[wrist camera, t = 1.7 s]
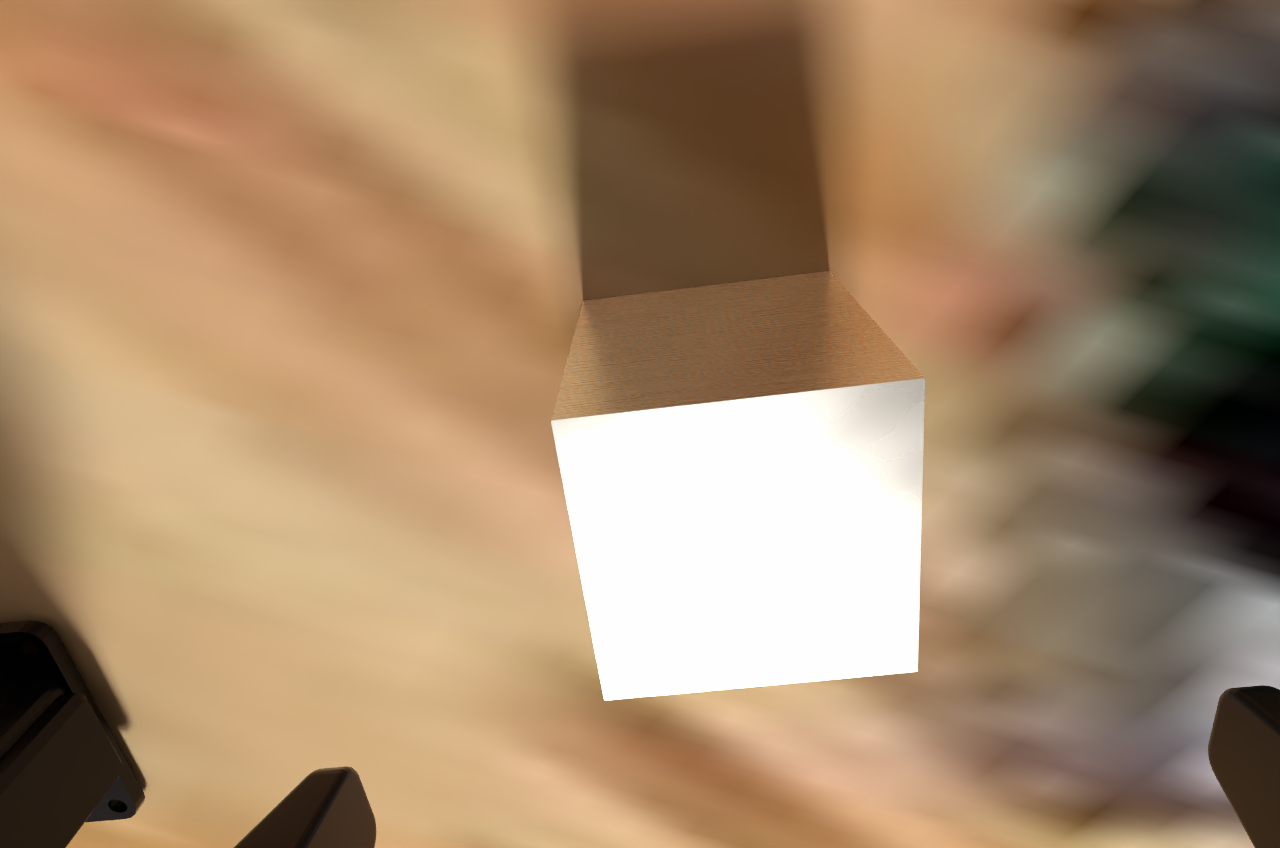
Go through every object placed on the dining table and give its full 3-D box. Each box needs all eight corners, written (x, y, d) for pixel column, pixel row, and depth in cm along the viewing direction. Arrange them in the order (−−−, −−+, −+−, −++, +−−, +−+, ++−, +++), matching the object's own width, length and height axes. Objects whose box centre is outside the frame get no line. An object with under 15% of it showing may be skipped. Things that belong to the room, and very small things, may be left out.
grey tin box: (617, 509, 18) (604, 700, 13) (583, 300, 16) (551, 420, 11) (834, 486, 18) (917, 671, 12) (828, 269, 16) (925, 378, 10)
